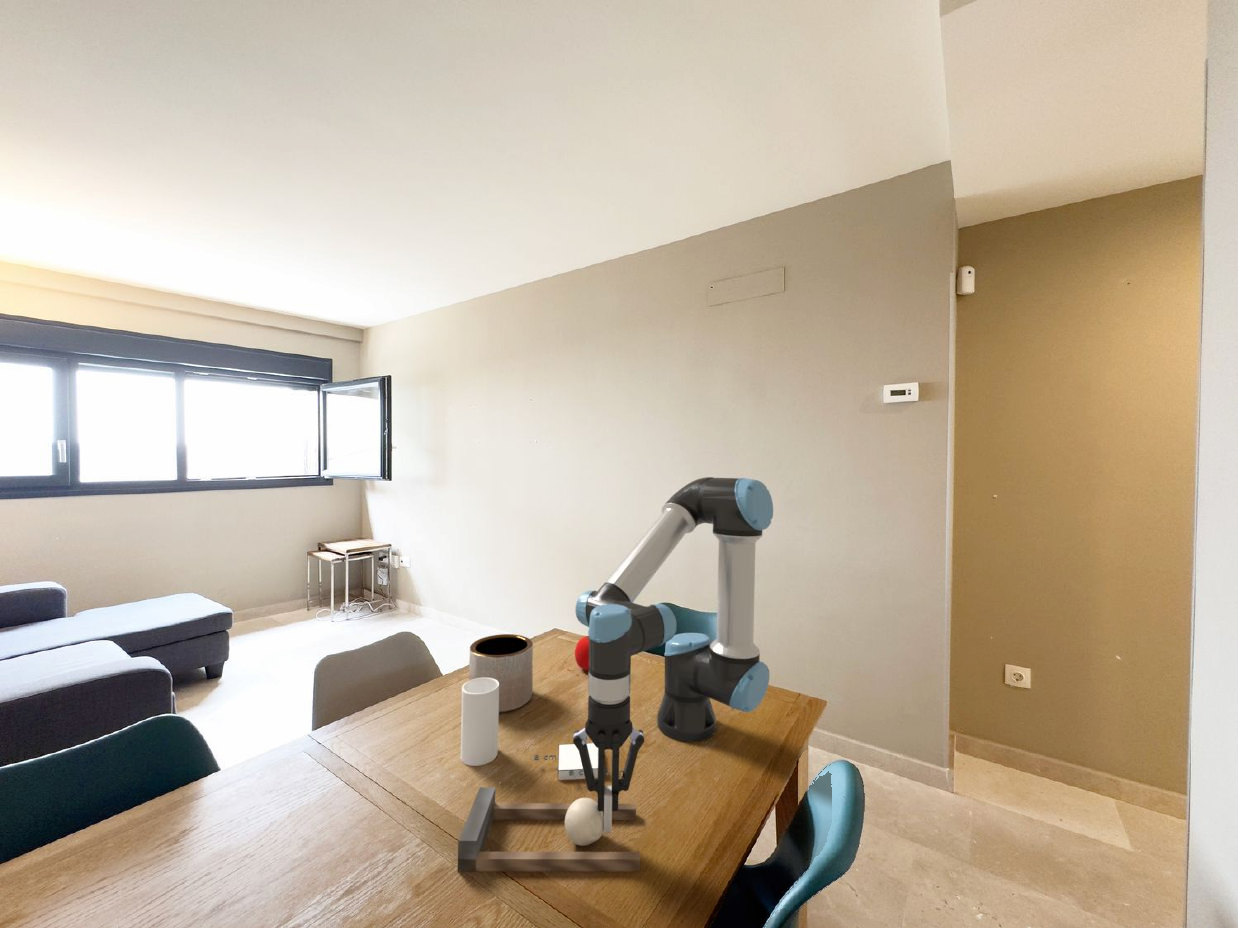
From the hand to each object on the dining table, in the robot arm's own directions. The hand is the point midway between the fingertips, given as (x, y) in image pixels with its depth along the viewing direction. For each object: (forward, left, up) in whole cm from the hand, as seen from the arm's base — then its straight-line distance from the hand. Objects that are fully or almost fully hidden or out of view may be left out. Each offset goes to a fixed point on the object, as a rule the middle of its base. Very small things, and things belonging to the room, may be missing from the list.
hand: (607, 827), depth 85 cm
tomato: (+6, -72, -3) cm, 73 cm away
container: (+6, -21, -3) cm, 22 cm away
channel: (+10, 0, -3) cm, 10 cm away
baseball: (+4, 0, -3) cm, 5 cm away
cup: (+30, -25, -3) cm, 39 cm away
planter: (+31, -51, -3) cm, 60 cm away
